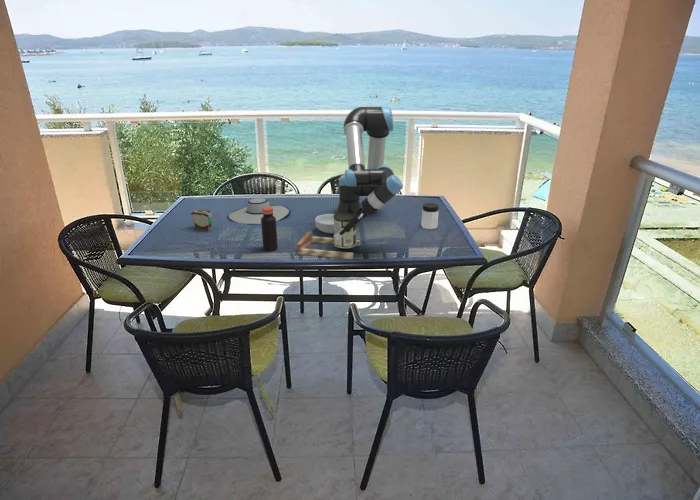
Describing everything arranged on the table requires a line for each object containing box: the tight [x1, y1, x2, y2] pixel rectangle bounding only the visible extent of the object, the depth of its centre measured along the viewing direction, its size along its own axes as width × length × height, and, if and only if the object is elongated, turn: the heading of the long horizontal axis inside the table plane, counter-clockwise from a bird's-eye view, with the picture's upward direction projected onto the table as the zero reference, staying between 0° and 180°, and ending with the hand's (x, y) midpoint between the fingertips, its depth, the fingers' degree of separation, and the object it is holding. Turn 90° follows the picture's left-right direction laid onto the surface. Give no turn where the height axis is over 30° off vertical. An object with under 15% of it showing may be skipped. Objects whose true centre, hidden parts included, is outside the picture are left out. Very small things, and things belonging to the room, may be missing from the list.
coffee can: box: [333, 212, 357, 249], centre depth 206 cm, size 10×10×14 cm
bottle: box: [261, 207, 279, 252], centre depth 209 cm, size 7×7×20 cm
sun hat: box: [226, 197, 292, 226], centre depth 258 cm, size 36×36×9 cm
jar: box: [420, 202, 439, 230], centre depth 237 cm, size 9×8×12 cm
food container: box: [190, 208, 213, 233], centre depth 236 cm, size 12×6×10 cm, turn 65°
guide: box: [296, 230, 361, 260], centre depth 210 cm, size 26×17×5 cm, turn 78°
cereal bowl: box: [314, 213, 336, 235], centre depth 232 cm, size 17×17×7 cm
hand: (338, 233), depth 207 cm, fingers closed on coffee can, 10 cm apart
